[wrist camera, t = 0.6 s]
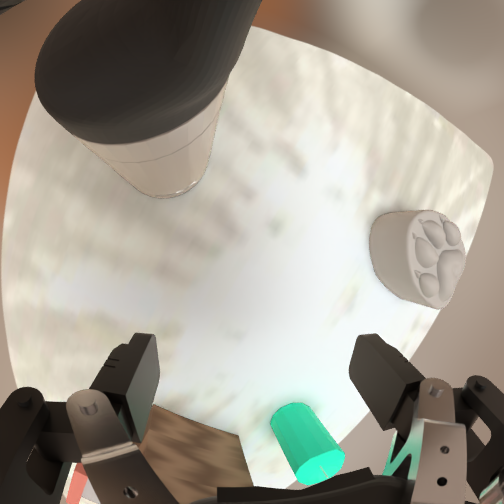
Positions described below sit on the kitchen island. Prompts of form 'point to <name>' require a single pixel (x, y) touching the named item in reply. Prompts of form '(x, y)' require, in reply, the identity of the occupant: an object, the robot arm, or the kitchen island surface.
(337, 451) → the candle
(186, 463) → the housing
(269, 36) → the kitchen island surface
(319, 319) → the kitchen island surface
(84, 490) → the coral square plate
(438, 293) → the lumpy-topped squat cylinder
